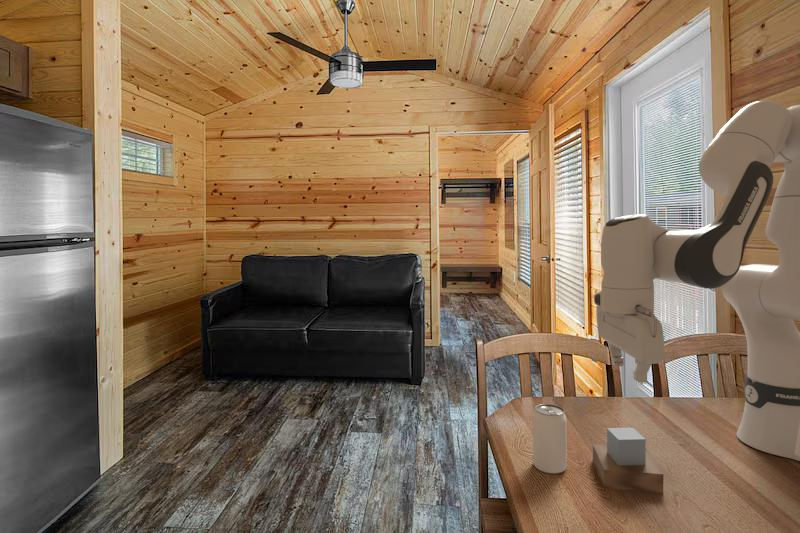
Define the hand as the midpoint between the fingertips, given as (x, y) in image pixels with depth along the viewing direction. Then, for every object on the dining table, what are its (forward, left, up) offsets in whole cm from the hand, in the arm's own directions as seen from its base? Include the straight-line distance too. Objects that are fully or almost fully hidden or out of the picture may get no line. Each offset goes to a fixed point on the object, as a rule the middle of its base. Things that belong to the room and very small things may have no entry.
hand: (628, 372), depth 86 cm
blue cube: (0, 0, -17) cm, 17 cm away
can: (+14, -3, -21) cm, 25 cm away
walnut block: (0, 0, -21) cm, 21 cm away
